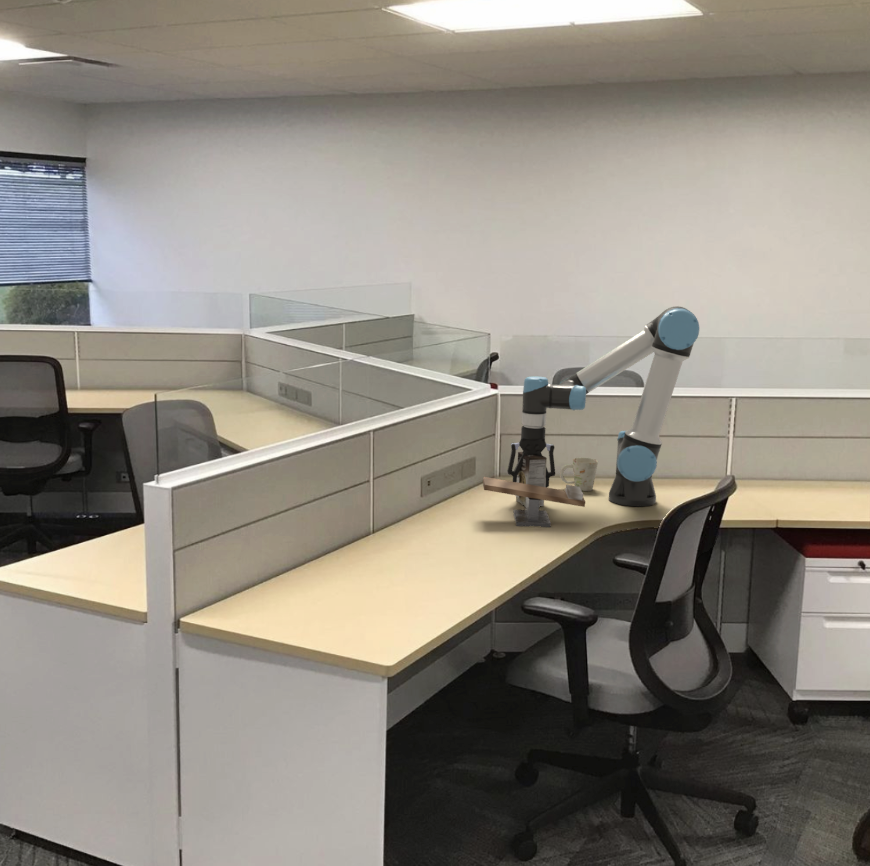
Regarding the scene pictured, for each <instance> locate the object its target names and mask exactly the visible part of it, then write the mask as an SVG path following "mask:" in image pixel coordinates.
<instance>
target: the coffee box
mask: <svg viewBox="0 0 870 866" xmlns="http://www.w3.org/2000/svg"><path fill="white" fill-rule="evenodd" d="M522 452H523V451H518V452H517V462H518V461H519V459H520V458H521V456H522ZM547 459H548V458H547V457H546V456H544V455H542V456H538V455H525V456H524V457H523V464H522V466H521V468H520V471H519V473H518V475H519V483H523V484H529V485H535V486H541V487H545V478H546V467H547V462H548V461H547ZM515 501H516V502H518V503H519V502H520V503H521V505H522V506H523V505H524V506H523V507H524V508H526V497H523V496H518V497H516V496H515ZM520 503H519V504H520ZM540 506H545V500H541V499H539V508H541V507H540Z"/></svg>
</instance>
